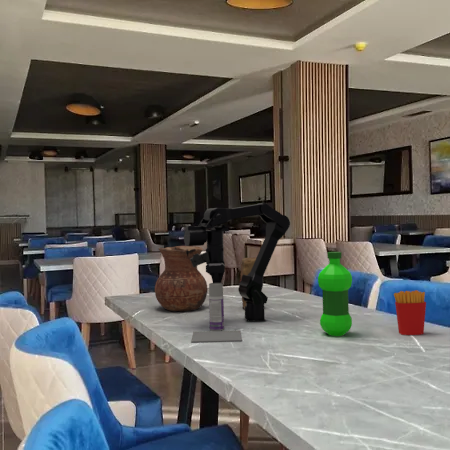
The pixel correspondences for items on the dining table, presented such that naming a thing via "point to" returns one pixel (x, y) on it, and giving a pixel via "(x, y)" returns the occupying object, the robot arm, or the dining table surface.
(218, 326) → the container
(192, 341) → the mat
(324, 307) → the plastic bottle
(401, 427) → the dining table surface
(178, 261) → the jug
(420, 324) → the french fries
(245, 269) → the block
